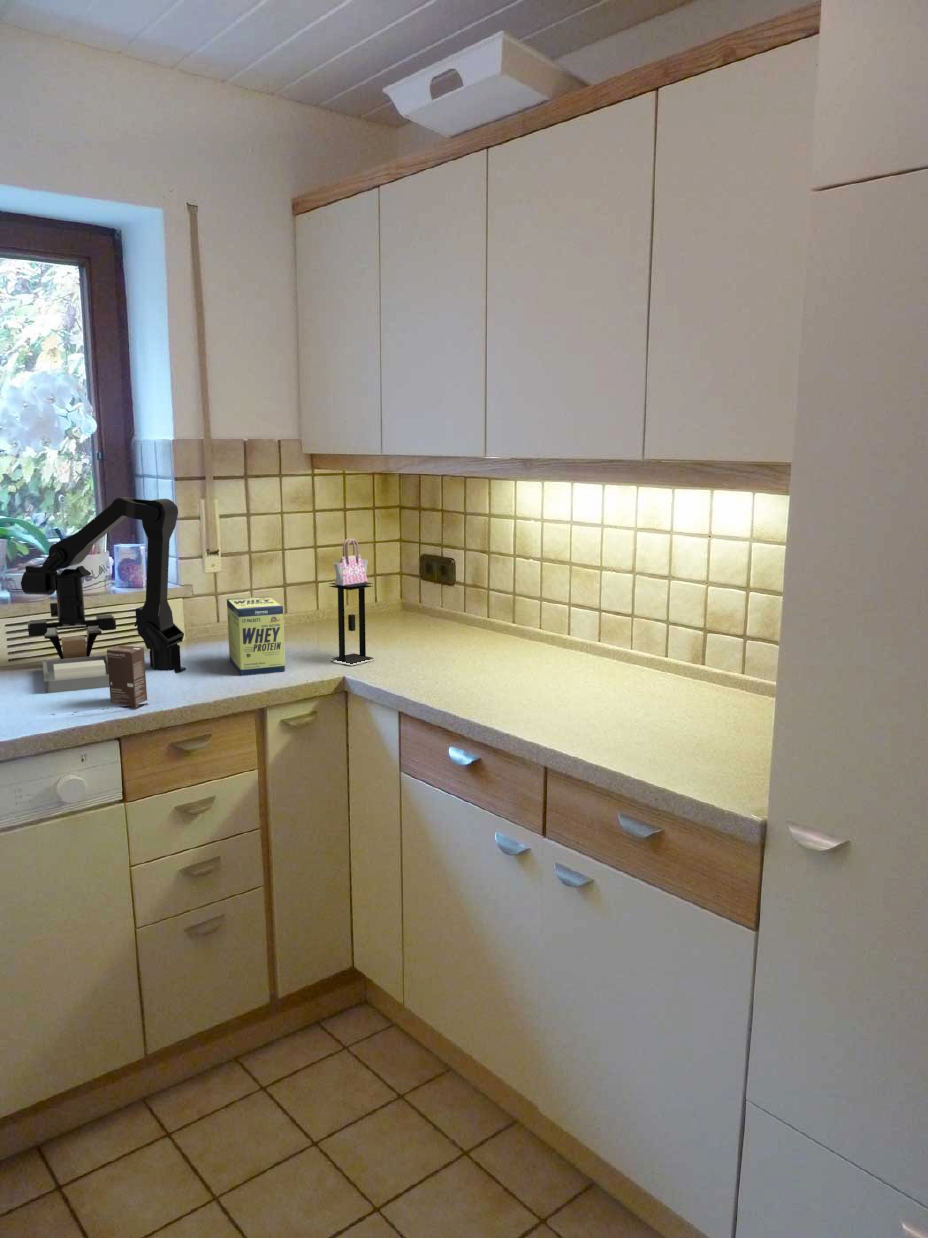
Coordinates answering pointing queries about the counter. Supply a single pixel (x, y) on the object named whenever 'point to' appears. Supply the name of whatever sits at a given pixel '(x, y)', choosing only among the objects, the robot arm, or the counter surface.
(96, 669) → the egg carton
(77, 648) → the tea tin
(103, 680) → the tote
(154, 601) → the robot arm
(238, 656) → the protein box
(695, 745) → the counter surface
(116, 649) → the box
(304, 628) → the counter surface
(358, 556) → the handbag
